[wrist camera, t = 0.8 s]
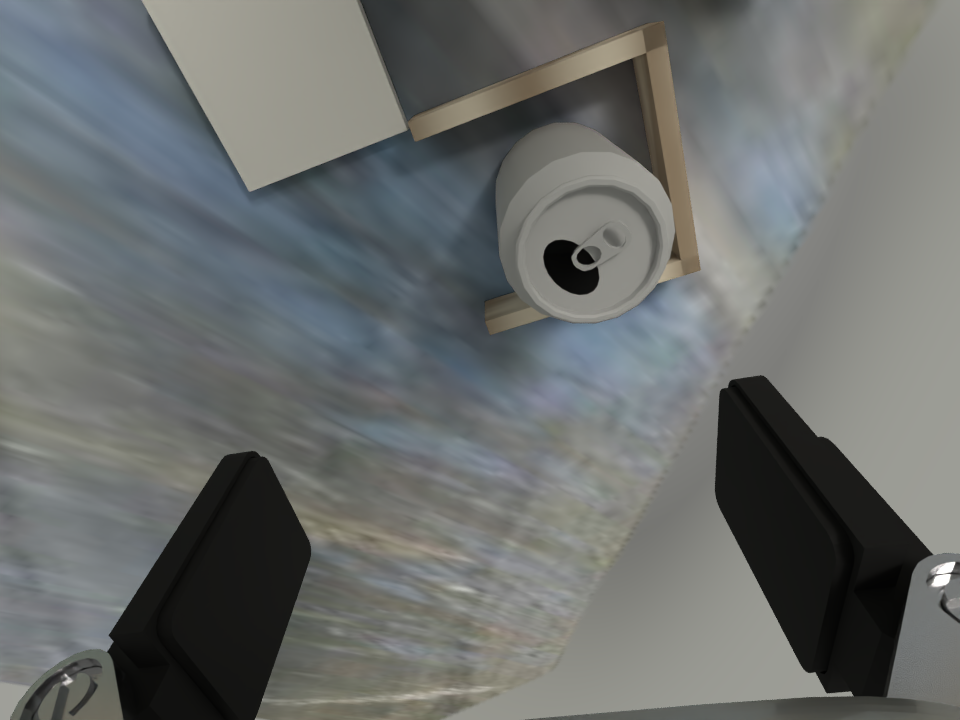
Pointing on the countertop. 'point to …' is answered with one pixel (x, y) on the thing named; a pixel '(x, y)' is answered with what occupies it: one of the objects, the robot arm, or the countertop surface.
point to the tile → (282, 79)
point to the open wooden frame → (658, 120)
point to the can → (580, 224)
